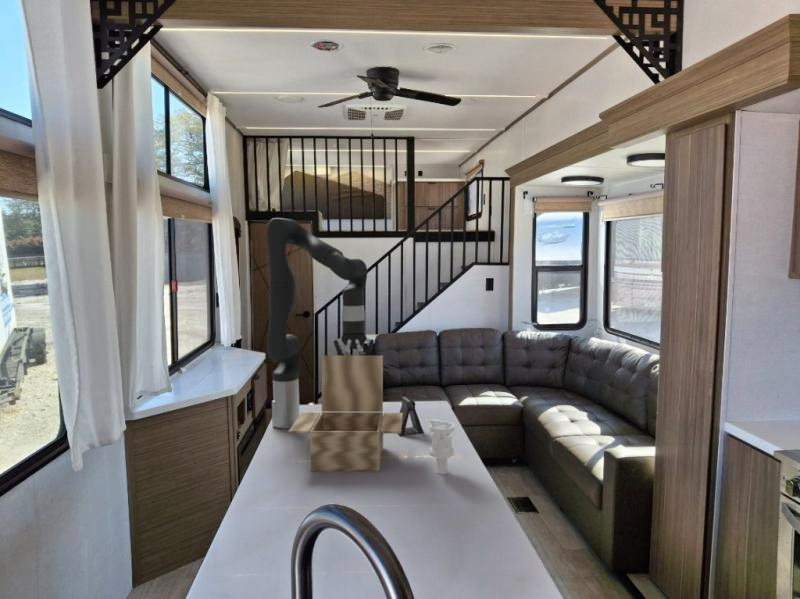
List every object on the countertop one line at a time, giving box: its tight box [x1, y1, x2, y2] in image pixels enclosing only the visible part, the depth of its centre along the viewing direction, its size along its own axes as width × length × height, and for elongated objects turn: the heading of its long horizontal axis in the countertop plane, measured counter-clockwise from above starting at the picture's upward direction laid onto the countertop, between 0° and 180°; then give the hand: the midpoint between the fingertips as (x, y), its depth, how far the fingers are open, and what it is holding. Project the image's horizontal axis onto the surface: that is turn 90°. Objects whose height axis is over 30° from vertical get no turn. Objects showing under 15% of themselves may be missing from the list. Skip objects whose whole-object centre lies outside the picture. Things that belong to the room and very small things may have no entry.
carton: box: [288, 411, 403, 473], centre depth 156 cm, size 33×18×12 cm, turn 88°
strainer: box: [429, 418, 455, 475], centre depth 147 cm, size 7×7×15 cm
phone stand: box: [396, 395, 424, 437], centre depth 180 cm, size 9×6×12 cm, turn 108°
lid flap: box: [321, 354, 384, 413], centre depth 169 cm, size 20×18×7 cm
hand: (354, 369), depth 172 cm, fingers closed on lid flap, 4 cm apart
